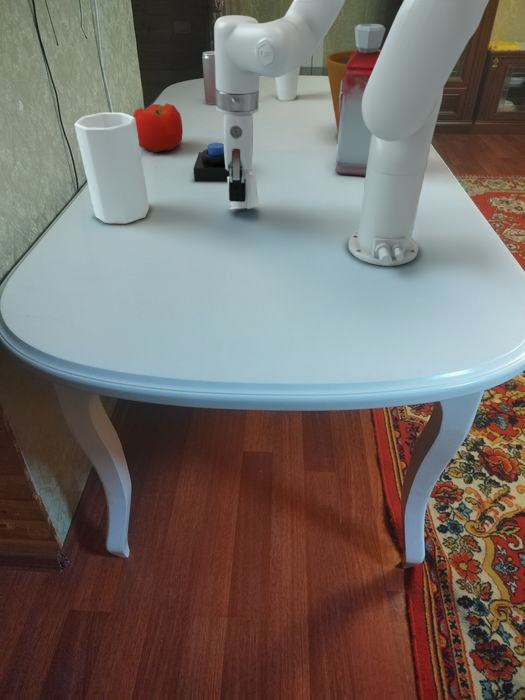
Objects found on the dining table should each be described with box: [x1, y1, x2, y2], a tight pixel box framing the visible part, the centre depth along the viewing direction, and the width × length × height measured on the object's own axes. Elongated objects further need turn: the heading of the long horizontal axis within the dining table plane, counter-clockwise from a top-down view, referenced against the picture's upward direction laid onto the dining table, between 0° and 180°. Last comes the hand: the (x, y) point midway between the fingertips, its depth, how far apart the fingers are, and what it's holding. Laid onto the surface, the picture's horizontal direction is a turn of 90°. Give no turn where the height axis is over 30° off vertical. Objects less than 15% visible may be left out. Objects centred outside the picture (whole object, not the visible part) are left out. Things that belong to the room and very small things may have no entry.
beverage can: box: [201, 50, 216, 106], centre depth 169 cm, size 6×6×15 cm
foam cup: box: [275, 66, 301, 102], centre depth 174 cm, size 10×9×13 cm
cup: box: [74, 112, 150, 225], centre depth 100 cm, size 11×11×18 cm
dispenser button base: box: [193, 148, 230, 183], centre depth 122 cm, size 11×10×5 cm
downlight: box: [227, 171, 262, 210], centre depth 103 cm, size 8×7×10 cm
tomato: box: [132, 102, 184, 153], centre depth 134 cm, size 14×13×10 cm
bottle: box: [335, 23, 386, 177], centre depth 117 cm, size 14×10×30 cm
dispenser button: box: [207, 142, 224, 156], centre depth 120 cm, size 4×4×2 cm
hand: (237, 199), depth 101 cm, fingers closed
